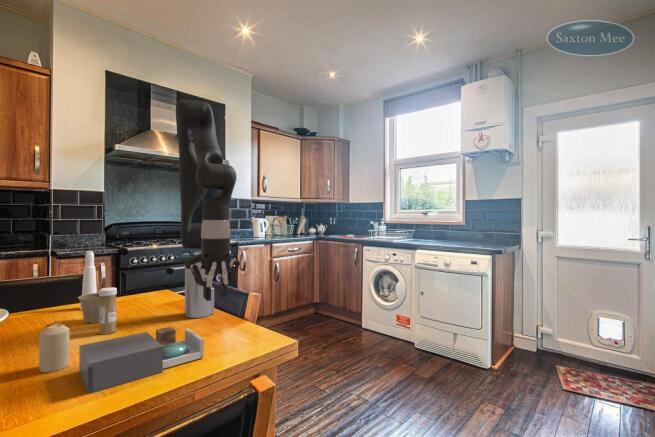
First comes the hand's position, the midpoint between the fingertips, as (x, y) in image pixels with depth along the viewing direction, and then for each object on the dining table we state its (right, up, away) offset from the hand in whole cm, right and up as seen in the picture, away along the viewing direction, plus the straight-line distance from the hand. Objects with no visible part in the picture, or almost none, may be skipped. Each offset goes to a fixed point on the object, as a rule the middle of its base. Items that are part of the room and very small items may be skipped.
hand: (215, 298), depth 92 cm
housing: (-17, -13, -15) cm, 26 cm away
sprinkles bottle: (-37, -13, +11) cm, 41 cm away
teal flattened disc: (-8, -12, -7) cm, 16 cm away
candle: (-33, -13, -13) cm, 38 cm away
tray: (-9, -13, -8) cm, 18 cm away
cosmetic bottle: (-61, -13, +37) cm, 73 cm away
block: (-14, -13, +2) cm, 20 cm away
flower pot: (-48, -13, +22) cm, 55 cm away
